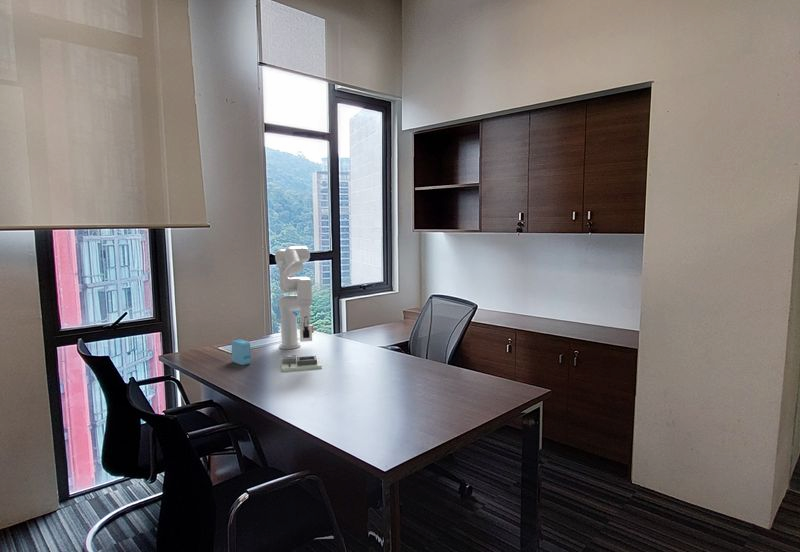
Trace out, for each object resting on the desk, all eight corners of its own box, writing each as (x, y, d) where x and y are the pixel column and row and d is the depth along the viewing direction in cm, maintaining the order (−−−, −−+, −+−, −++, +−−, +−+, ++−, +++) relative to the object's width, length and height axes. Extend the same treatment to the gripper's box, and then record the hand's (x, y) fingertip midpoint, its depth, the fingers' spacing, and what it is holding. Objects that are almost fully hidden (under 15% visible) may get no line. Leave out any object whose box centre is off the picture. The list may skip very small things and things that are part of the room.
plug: (300, 340, 252) (299, 325, 251) (313, 339, 253) (313, 324, 252) (300, 341, 248) (299, 326, 247) (314, 340, 249) (313, 325, 249)
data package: (251, 364, 257) (250, 342, 256) (243, 365, 254) (242, 343, 252) (239, 360, 265) (238, 338, 264) (232, 361, 262) (231, 340, 260)
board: (281, 363, 257) (281, 354, 257) (319, 360, 262) (318, 351, 262) (281, 371, 242) (281, 362, 242) (321, 368, 247) (321, 359, 246)
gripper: (296, 300, 256) (298, 334, 257) (298, 305, 239) (299, 341, 241) (311, 299, 257) (312, 333, 259) (313, 304, 241) (314, 339, 243)
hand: (306, 336), depth 250 cm, fingers closed on plug, 4 cm apart
